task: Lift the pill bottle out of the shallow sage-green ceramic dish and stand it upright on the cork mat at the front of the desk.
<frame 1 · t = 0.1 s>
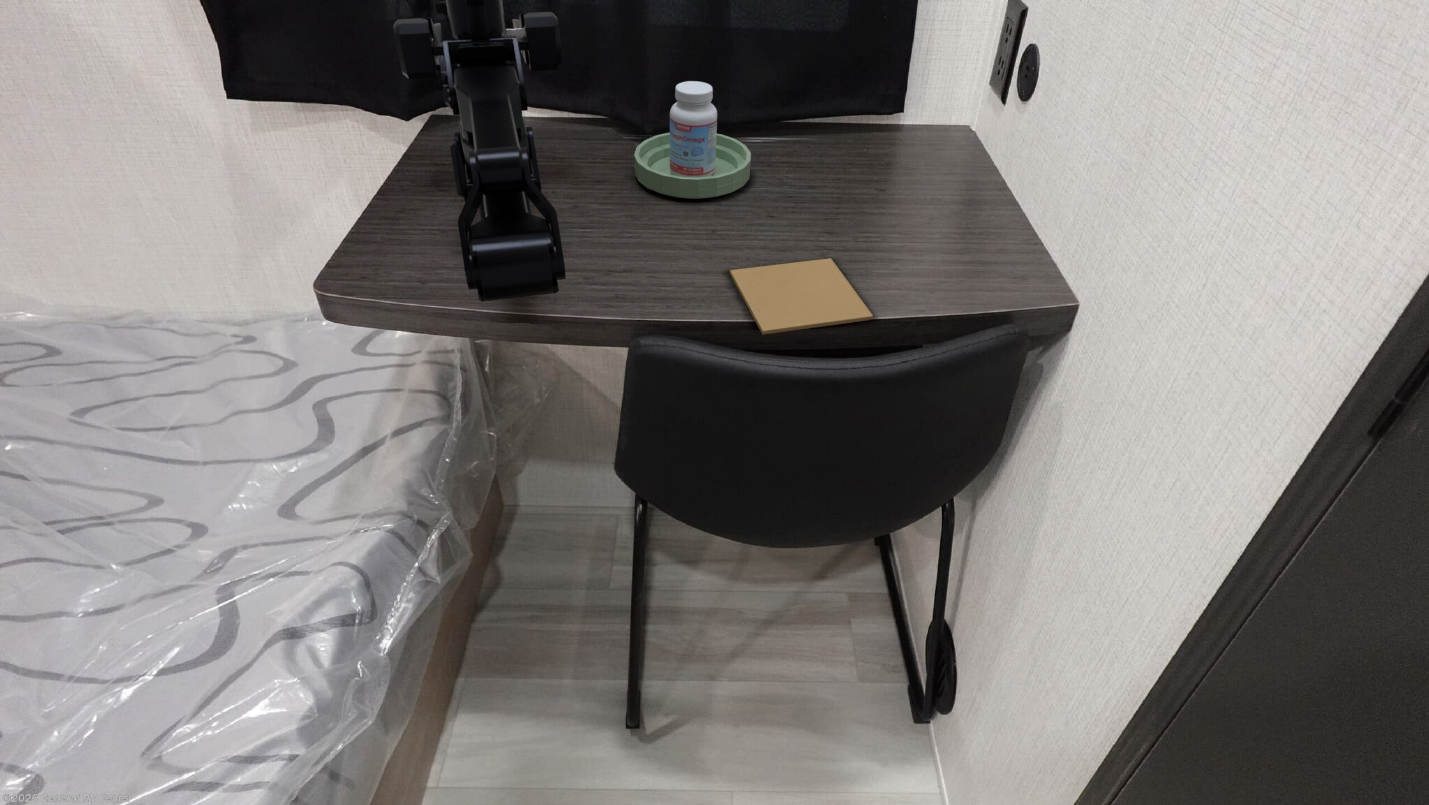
hand: (477, 25, 105), 17 cm above the table, tool horizontal, fingers open, 9 cm apart
dish: (692, 176, 112), on the table
pill bottle: (692, 173, 111), resting on dish
cork mat: (798, 296, 90), on the table
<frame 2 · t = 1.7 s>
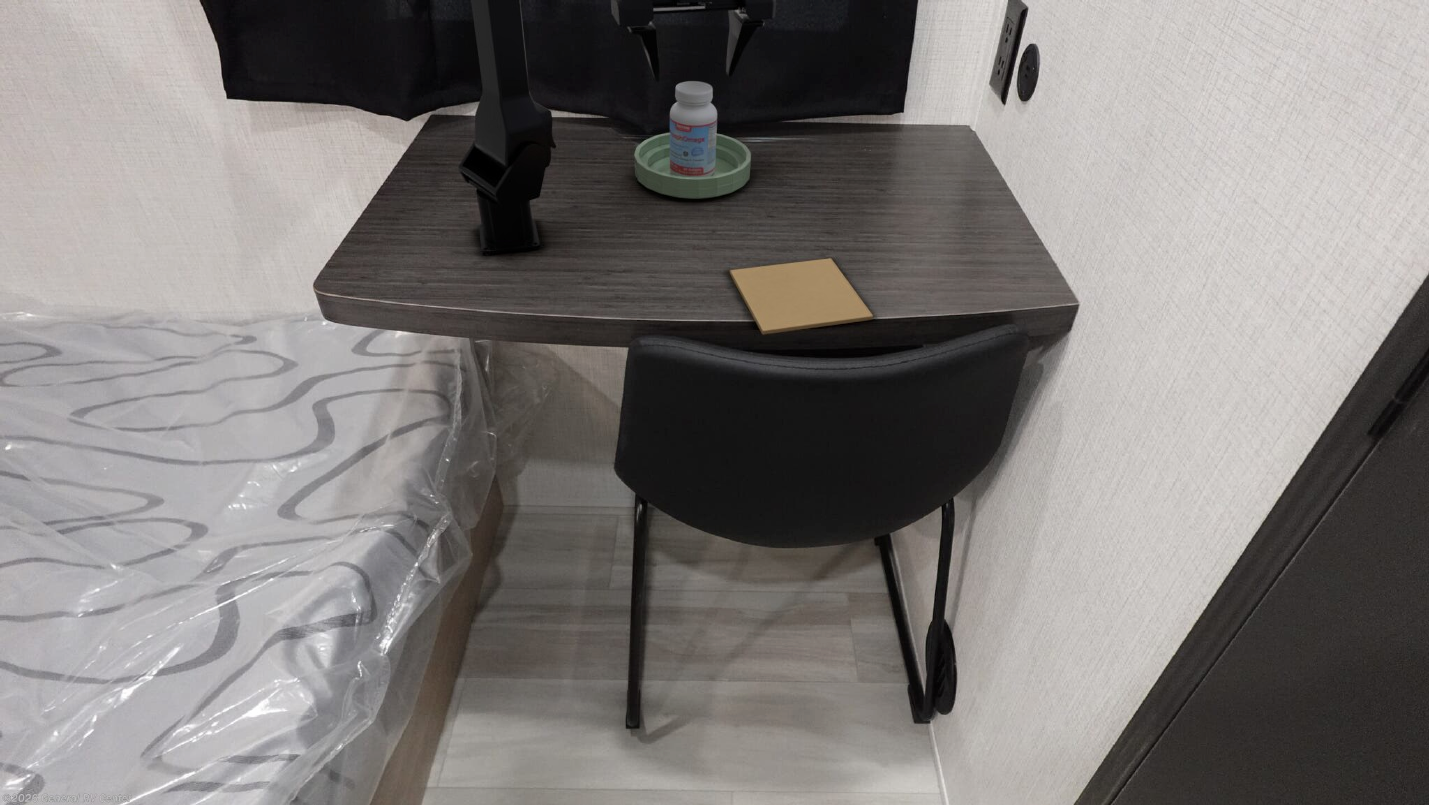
hand: (693, 78, 103), 13 cm above the table, tool pointing down, fingers open, 9 cm apart
nothing on the table moved.
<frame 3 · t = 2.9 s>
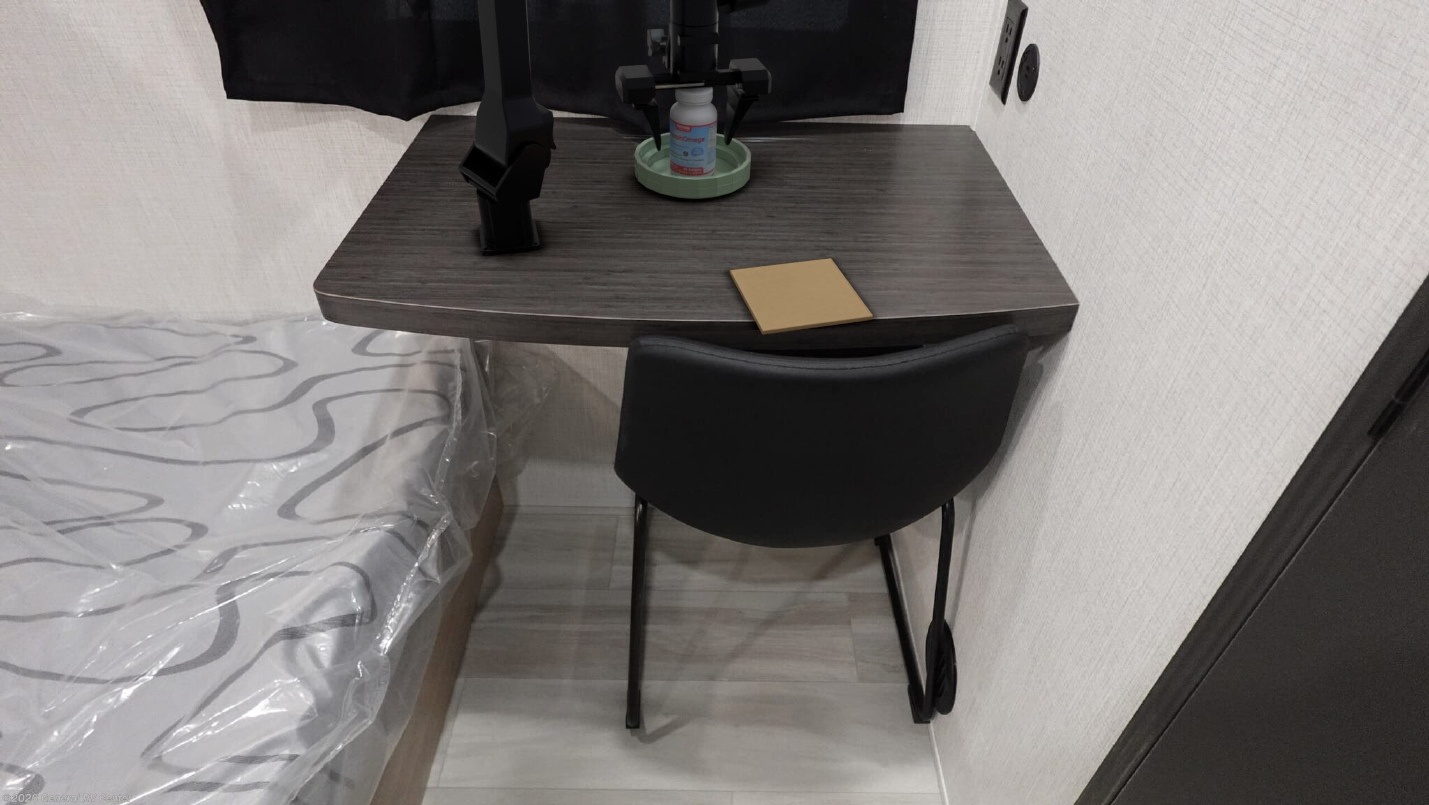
hand: (692, 146, 109), 4 cm above the table, tool pointing down
pill bottle: (692, 173, 111), resting on dish, touching gripper
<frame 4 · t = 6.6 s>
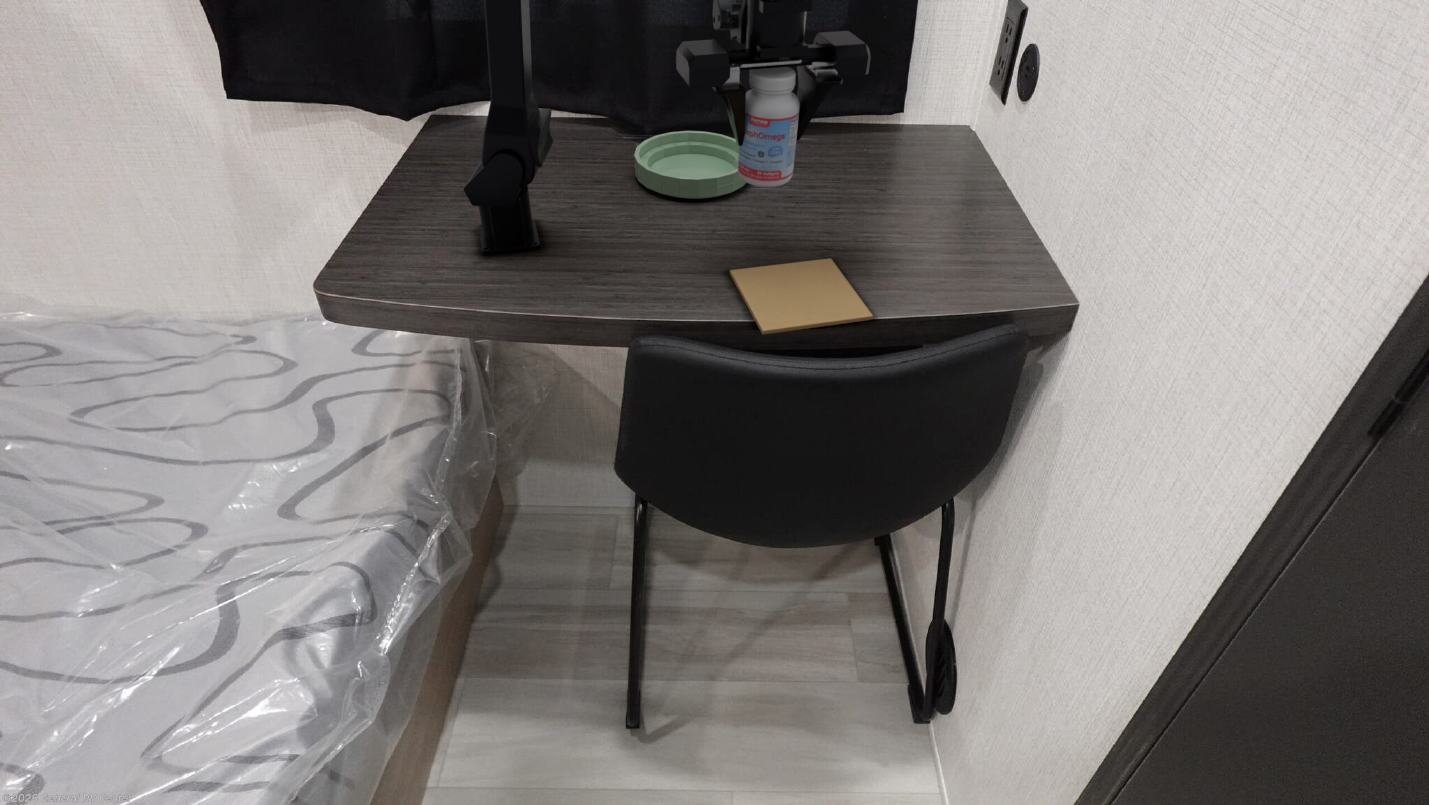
hand: (768, 141, 89), 13 cm above the table, tool pointing down, fingers closed on pill bottle, 6 cm apart
pill bottle: (765, 178, 91), point 9 cm above the table, touching gripper
when the fingers open (4 cm above the table, at t = 10.3 s): pill bottle stays where it is, resting on cork mat.
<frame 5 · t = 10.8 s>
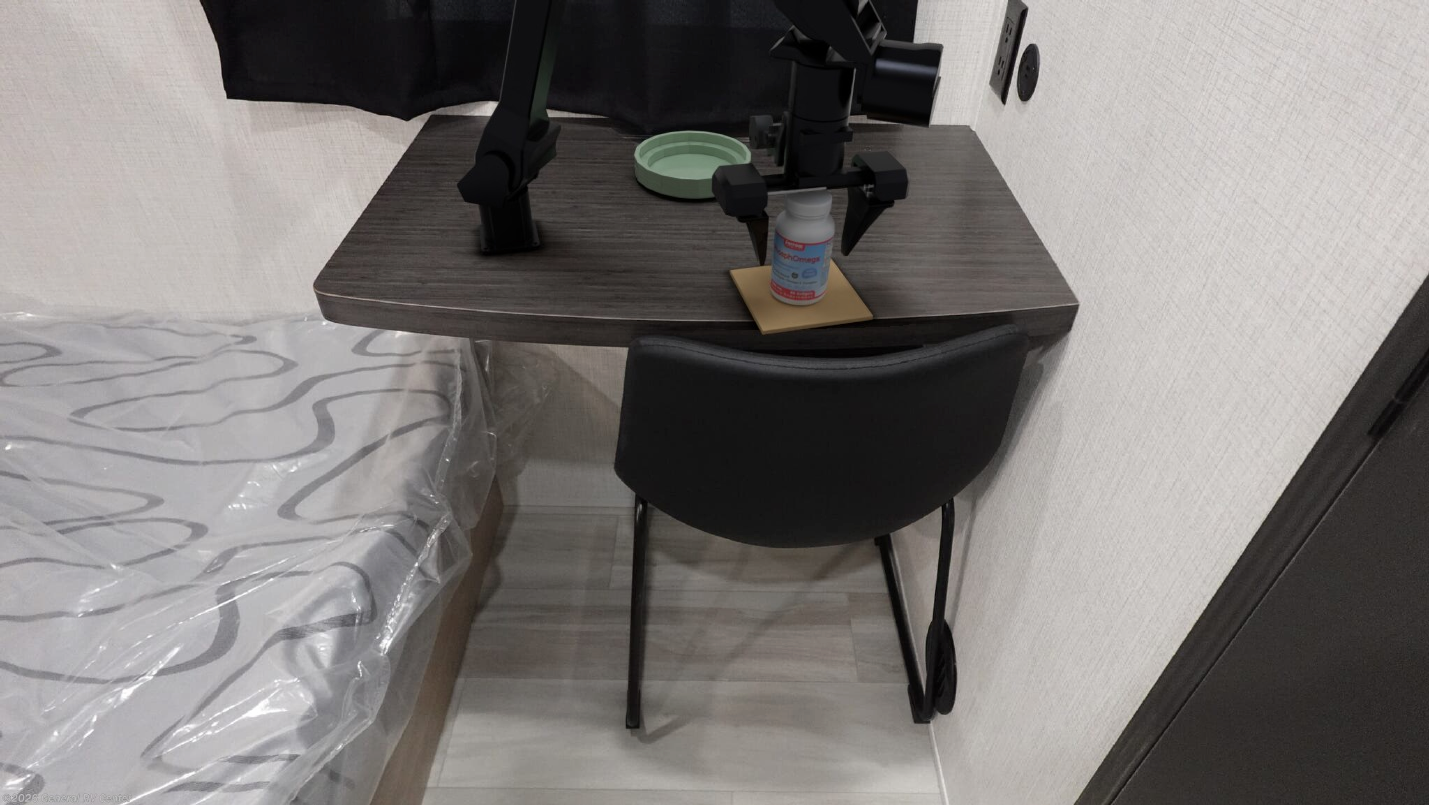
hand: (802, 259, 87), 5 cm above the table, tool pointing down, fingers open, 9 cm apart
pill bottle: (797, 293, 90), resting on cork mat
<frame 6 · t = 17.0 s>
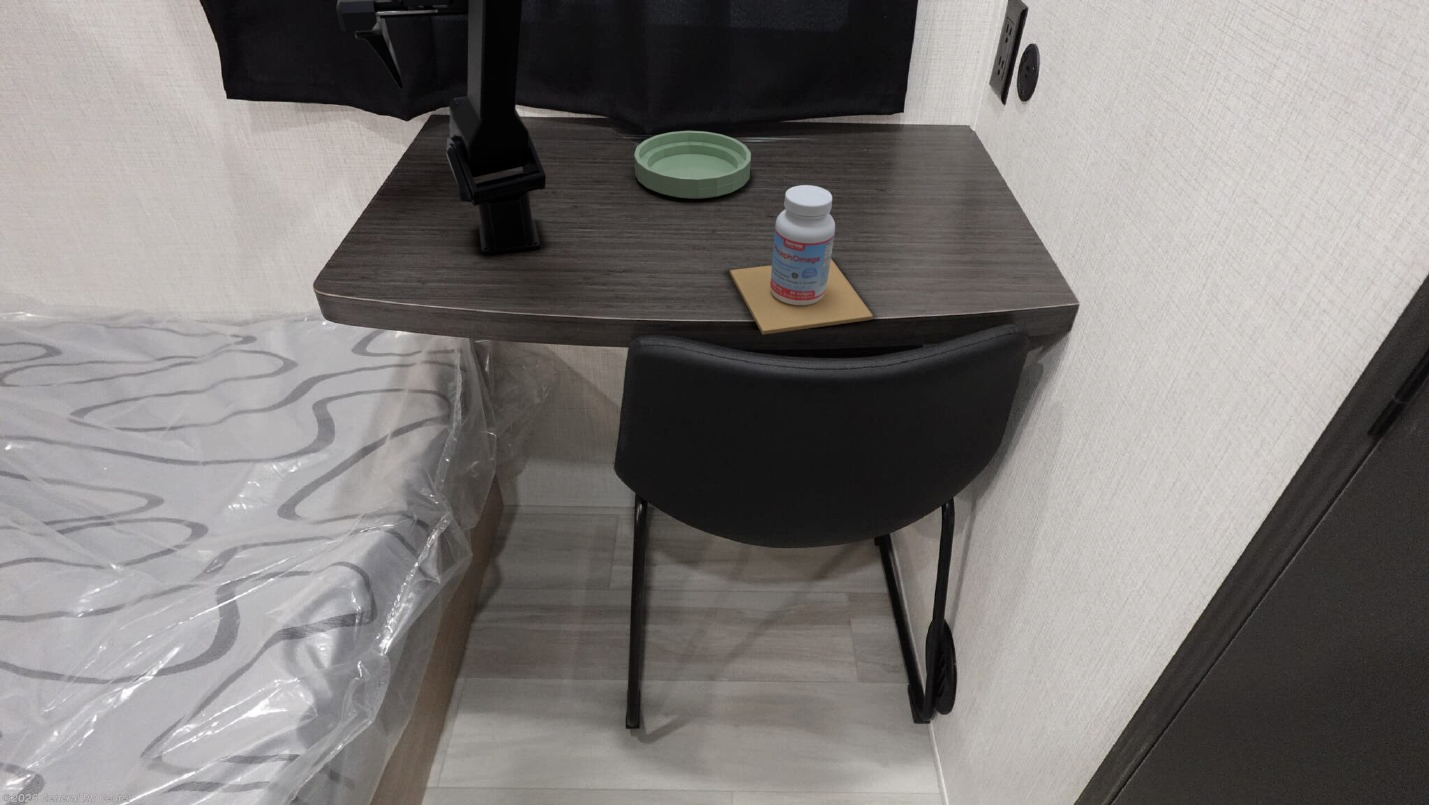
hand: (442, 85, 99), 13 cm above the table, tool pointing down, fingers open, 9 cm apart
nothing on the table moved.
at the end: pill bottle inside the target area on the cork mat (0.1 cm from its centre), point 0.3 cm above the cork mat's base; pill bottle tilted 0°; pill bottle touching cork mat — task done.
